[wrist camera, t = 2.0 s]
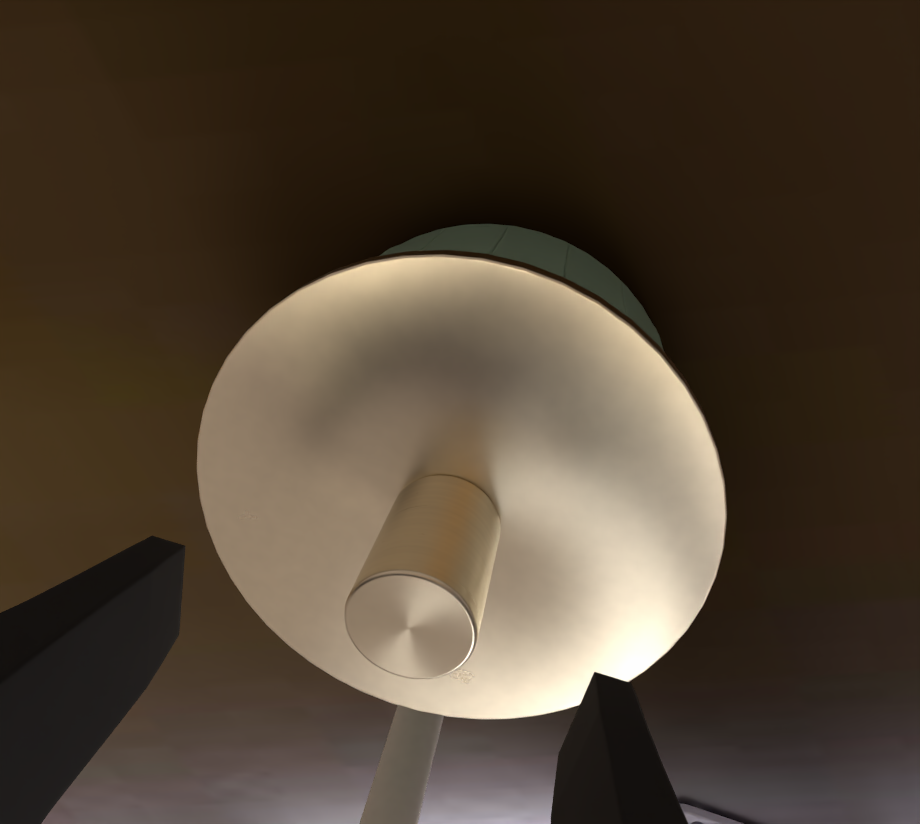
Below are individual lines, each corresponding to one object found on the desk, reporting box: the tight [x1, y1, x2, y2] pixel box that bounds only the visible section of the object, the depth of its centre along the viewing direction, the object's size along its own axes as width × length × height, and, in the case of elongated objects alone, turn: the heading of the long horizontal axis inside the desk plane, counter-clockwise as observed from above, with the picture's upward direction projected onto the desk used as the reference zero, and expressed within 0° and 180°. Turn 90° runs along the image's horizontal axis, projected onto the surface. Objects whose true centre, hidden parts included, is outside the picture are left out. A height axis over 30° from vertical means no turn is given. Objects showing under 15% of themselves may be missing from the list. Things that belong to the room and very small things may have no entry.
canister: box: [380, 224, 664, 351], centre depth 19 cm, size 11×11×6 cm
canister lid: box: [197, 250, 727, 719], centre depth 14 cm, size 12×12×4 cm
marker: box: [360, 705, 444, 824], centre depth 23 cm, size 2×2×8 cm
